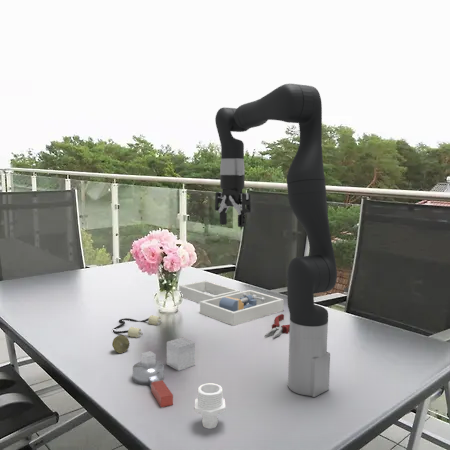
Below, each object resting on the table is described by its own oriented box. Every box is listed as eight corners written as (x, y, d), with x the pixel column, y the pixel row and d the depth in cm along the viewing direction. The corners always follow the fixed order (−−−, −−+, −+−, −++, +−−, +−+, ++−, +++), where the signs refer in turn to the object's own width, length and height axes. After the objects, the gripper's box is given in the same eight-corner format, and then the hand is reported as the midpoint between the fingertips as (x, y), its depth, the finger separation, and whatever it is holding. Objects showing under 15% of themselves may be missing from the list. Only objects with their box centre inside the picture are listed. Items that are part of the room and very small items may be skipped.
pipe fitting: (224, 415, 100) (224, 380, 99) (225, 434, 93) (225, 397, 92) (195, 415, 100) (195, 380, 99) (194, 434, 93) (194, 397, 92)
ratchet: (183, 402, 105) (183, 375, 105) (150, 409, 102) (149, 382, 101) (159, 369, 123) (158, 345, 122) (129, 374, 119) (129, 350, 119)
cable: (97, 334, 149) (97, 324, 149) (124, 319, 165) (124, 310, 164) (139, 340, 144) (139, 330, 144) (163, 324, 160) (163, 315, 159)
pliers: (252, 336, 149) (252, 328, 148) (280, 319, 166) (280, 312, 166) (285, 345, 142) (285, 336, 142) (311, 326, 160) (311, 318, 160)
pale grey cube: (194, 365, 125) (194, 342, 125) (178, 371, 122) (178, 347, 121) (182, 359, 129) (182, 337, 129) (166, 364, 126) (166, 341, 125)
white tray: (283, 310, 175) (283, 299, 175) (233, 325, 158) (233, 313, 157) (249, 300, 189) (249, 289, 188) (199, 313, 171) (200, 301, 171)
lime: (131, 349, 136) (130, 333, 135) (123, 355, 131) (123, 339, 131) (117, 347, 137) (117, 331, 137) (109, 354, 133) (109, 337, 132)
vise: (236, 321, 163) (237, 303, 162) (215, 315, 169) (215, 297, 169) (265, 309, 177) (265, 293, 176) (244, 304, 183) (244, 288, 182)
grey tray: (239, 301, 187) (240, 290, 187) (213, 308, 178) (213, 296, 177) (205, 290, 204) (205, 280, 203) (179, 295, 194) (179, 285, 194)
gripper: (208, 173, 144) (208, 224, 146) (238, 173, 133) (238, 228, 135) (226, 174, 149) (226, 223, 151) (257, 173, 138) (256, 226, 140)
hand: (232, 225), depth 143 cm, fingers open, 8 cm apart
